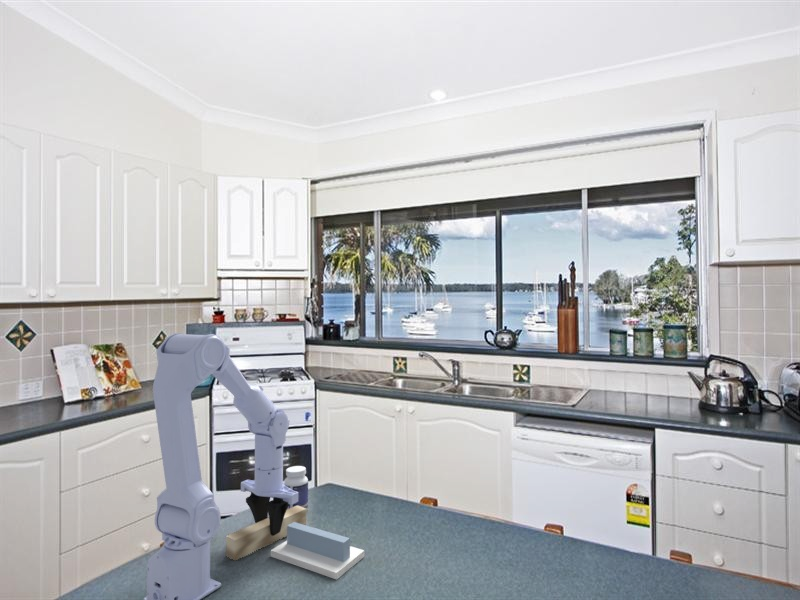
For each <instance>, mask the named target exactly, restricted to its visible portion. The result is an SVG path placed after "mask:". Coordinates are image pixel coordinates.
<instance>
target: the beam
mask: <svg viewBox="0 0 800 600" xmlns="http://www.w3.org/2000/svg"><path fill="white" fill-rule="evenodd" d="M293 522H296V523H299V524H303V525H306V526H307V511H306V508H303V507H301V506H298V505H297V506H294V507H292V508H290V509H287V510H286V513H285V515H284V519H283V522H282V526H281V530H280V532H279V533H278V534H276V535H274V536H272V535H271V533H270V520H269V517H268V518H266V519H264V520H262V521H260V522H257V523H255V522H254V523H253V524H250V525H248V526H246V527H244V528H242V529H239V530H236V531H234V532H232V533H229V534H226V535H225V557H226V556H227V557H226V558H228V557H229V558H231V559H233V560H237V559H239V558H241V559H243V558H245V557H247V556H249V555H251V554H253V553H255V552H257V551H259V550H258V549H260V550H262V549H263V548H262V547H264V548H266V547H268V546H269V544H270V545H271V543H272V544H274V543H276V542H278V541H279V539H280V540H282V539H283V537H284V538H287V526H288V525H289V524H291V523H293ZM281 538H282V539H281ZM277 540H278V541H277ZM275 541H276V542H275ZM273 542H274V543H273ZM267 545H268V546H267ZM265 546H266V547H265ZM261 548H262V549H261ZM256 550H257V551H256ZM254 551H255V552H254ZM252 552H253V553H252ZM250 553H251V554H250ZM248 554H249V555H248ZM246 555H247V556H246ZM244 556H245V557H244ZM242 557H243V558H242ZM229 558H228V559H229ZM231 559H230V560H231ZM233 560H232V561H233ZM239 560H240V559H239ZM237 561H238V560H237Z"/></svg>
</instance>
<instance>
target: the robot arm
mask: <svg viewBox="0 0 800 600" xmlns="http://www.w3.org/2000/svg"><path fill="white" fill-rule="evenodd" d="M230 351H231V350H230V347H229V346H228V345H227V344H225V342H224V340H223V339H222V338H221V336H218V335H216V334H212V333H211V334H191V333H190V334H186V333H185V334H184V333H182V332H181V333H180V332H175V333H172V334H170V335H168V336H167V337H166V338H165V339H164V341H163V342H162V343H161V344H160V345H159V346H158V347H157V349H156V359H157V368H156V372H155V377H154V380H153V384H152V395H153V402H154V409H155V416H156V423H157V430H158V437H159V443H160V450H161V451H160V452H161V460H162V467H163V472H164V473H163V474H164V481H165V488H164V489H163V490H162V491H161V492H160V493H158V495H157V497H156V502H157V504H156V505H157V506H156V511H155V516H154V526H155V529H156V530H157V531H158V532H159V533H160V534H161V540H162V541H163V542H164V543H163V545H162V546H161V548H160V549H158V551H156V552H154V554H152V555H151V556H150V557H149V558H148V560H147V564H146V596H144V598H143V600H202V599H204V598H205V597H207V596H208V595H210V594H211V593H213V592H215V591H216V590H218V589H220V588H221V587H222V583H221V582H220V581H217V580H215V579H213V578H211V540H213V539H214V536H215V534H216V533H217V532H218V529H219V526H220V524H221V517H222V515H221V510H220V508H219V507H218V505H217V504H216V501H215V498H214V493H213V492H212V491H211V490H210V488H209V487H208V486H207V485H206V484H205V483H204V481H203V480H202V471H201V465H200V464H201V463H200V457H199V456H200V455H199V447H198V440H197V432H196V425H195V418H194V410H193V403H192V395H191V394H192V392H193V391H194V390H195V388H196V387H198V386H199V385H201V384H202V383H203V382H205V380H206V379H208V378H210V376H211V375H212V376H213V378H215V379H216V380H217V381H218V382H219V383H220V385H222V386H224V388H225V389H226V390H227V391H228V392H230V393H231V394H232V396H233V405H234V407H235V408H236V410H237V411H239V413H240V414H241V415H242V416H243V417H244V418H245V419H246V421H247V427H248V431H249V432H250V433H252V434H254V479H253V480H251V479H246V480H243V481H241V482H240V492H242V493H243V492H244V493H246V492H249V493H250V495H249V496H247V497H246V498H245V503H246V504H247V506H248V507H249V510H250V511H251V513H252V516H253V519H254V524H255V523H257V522H260V521H262V520H264V519H266V518H269V520H270V533H271V535H272V536H274V535H276V534H278V533H279V532H280V530H281V526H282V522H283V519H284V515H285V513H286V510H287V508H288V506H289V505H293V504H295V503H296V502H298V492H296V491H294V490H292V489H290V488H288V487H287V486H285V482H284V445H285V443H286V439H287V438H286V436H287V435H286V434H287V432H288V429H289V427H290V420H289V418H288V415H287V413H286V412H285V411H284V410H283V409H280V408H277V407H276V406H275V404H274V402H273V400H270V399H269V398H268V397H267V395H266V394H265V392H264V388H263V387H262V386H261V385H257V384H253V383H251V384H249V382H248V381H247V379H246V377H244V375H243V373H242V372H241V370H240V369H239V368H238V366H237V364H236V363H235V362H234V361H233V359H232V358H231V357H232V356H230ZM271 499H272V500H271Z"/></svg>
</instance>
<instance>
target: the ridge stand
mask: <svg viewBox="0 0 800 600" xmlns="http://www.w3.org/2000/svg"><path fill="white" fill-rule="evenodd" d="M365 554H366V553H365V549H362V548H358V547H355V546H351V538H350V537H347V536H344V535H340V534H337V533H334V532H329V531H327V530H323V529H320V528H316V527H312V526H310V525H307V524H306V525H303V524H299V523H296V522H293V523H291V524H289V525H288V526H287V536H286V540H285V541H284V542H282V543H280V544H278V545H277V546H275V547H274V548H272V549H271V550H270V558H274V559H277V560H280V561H282V562H285V563H288V564H291V565H293V566H294V565H295V566H297V567H300V568H303V569H305V570H308V571H311V572H313V573H317V574H319V575H321V576H324V577H325V576H326V577H328V578H331V579H334V580H338V579H339V578H340V577H341V576H342V575H345V573H347V572H348V571H349V570H350V569H352V568H353V566H355V565H356V564H357V563H359V562H360V561H361V560H362V559H363V558H365Z"/></svg>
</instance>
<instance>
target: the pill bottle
mask: <svg viewBox="0 0 800 600" xmlns="http://www.w3.org/2000/svg"><path fill="white" fill-rule="evenodd" d="M306 474H307V468H306V467H305V466H304V465H293V466H289V467H288V468H286V469H285V475H286V477H285V478H284V479H283V481H284V482H285V486H287V487H288V488H290V489H292V490H294V491H296V492H298V502H296V503H295V504H293V505H289V506H288V508H287V509H290V508H292V507H294V506H297V505H298V506H301V507H303V508H306V512H307V510H308V509H309V479H308V477H307V476H306Z"/></svg>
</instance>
